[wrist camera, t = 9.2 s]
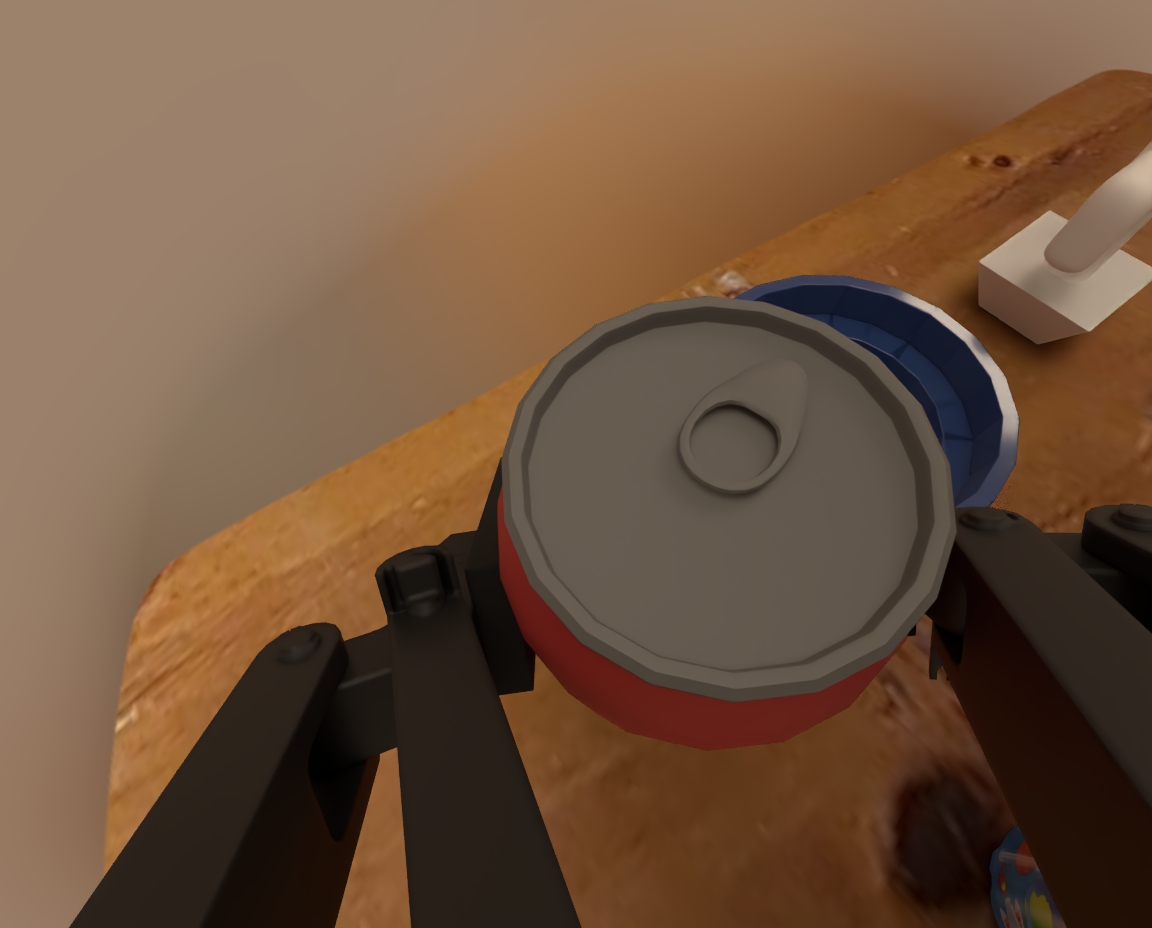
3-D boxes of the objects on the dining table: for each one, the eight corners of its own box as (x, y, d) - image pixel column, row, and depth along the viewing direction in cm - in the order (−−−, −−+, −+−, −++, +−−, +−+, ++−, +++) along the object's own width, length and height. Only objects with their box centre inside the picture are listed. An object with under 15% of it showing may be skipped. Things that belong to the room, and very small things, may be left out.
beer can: (802, 608, 17) (1095, 409, 7) (687, 793, 15) (840, 936, 5) (636, 495, 20) (655, 208, 9) (517, 643, 18) (351, 505, 7)
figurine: (935, 310, 37) (1119, 70, 23) (1022, 247, 39) (1236, -8, 25) (1033, 378, 34) (1305, 148, 20) (1121, 306, 36) (1421, 53, 23)
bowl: (1003, 423, 33) (1071, 369, 28) (870, 640, 28) (925, 621, 23) (764, 299, 38) (786, 235, 33) (618, 460, 33) (619, 414, 28)
